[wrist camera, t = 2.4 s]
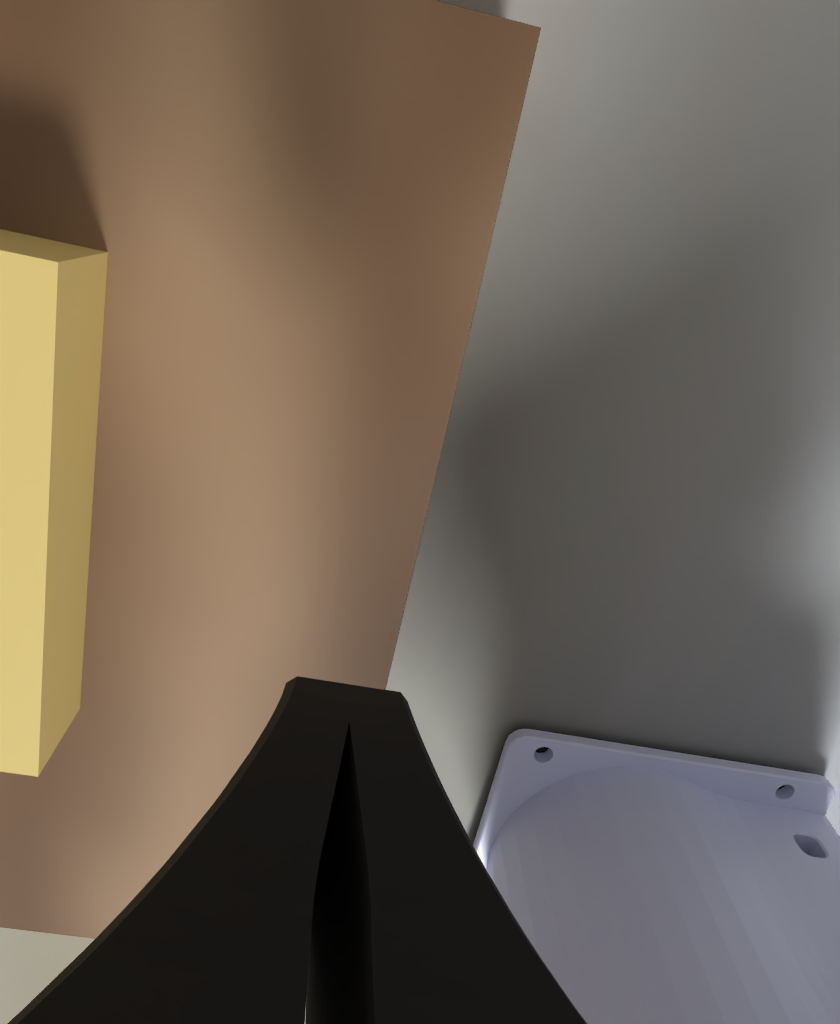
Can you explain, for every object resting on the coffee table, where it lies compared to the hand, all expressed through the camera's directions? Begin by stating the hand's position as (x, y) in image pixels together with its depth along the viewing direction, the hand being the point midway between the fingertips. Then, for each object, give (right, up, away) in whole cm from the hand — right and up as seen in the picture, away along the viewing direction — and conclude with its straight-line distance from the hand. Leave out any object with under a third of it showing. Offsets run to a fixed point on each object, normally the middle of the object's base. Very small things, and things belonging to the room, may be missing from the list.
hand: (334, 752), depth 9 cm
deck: (-6, +4, +9) cm, 12 cm away
